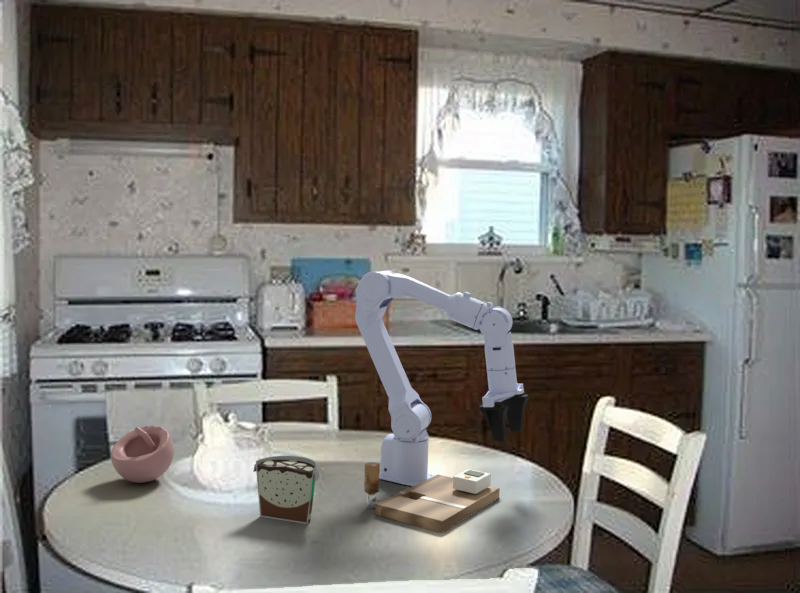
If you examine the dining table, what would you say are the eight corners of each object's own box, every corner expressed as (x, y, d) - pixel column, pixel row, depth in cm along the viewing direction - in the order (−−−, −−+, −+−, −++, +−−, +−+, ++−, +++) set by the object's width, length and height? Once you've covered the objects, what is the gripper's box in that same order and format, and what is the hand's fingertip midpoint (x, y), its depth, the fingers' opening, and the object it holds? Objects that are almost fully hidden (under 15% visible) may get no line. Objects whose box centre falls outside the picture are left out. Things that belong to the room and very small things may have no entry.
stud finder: (452, 488, 147) (453, 475, 147) (467, 480, 152) (468, 467, 152) (475, 493, 145) (476, 480, 144) (490, 485, 150) (490, 472, 149)
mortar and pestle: (97, 485, 151) (97, 428, 150) (139, 469, 162) (139, 415, 161) (146, 494, 147) (146, 435, 146) (186, 477, 158) (186, 422, 157)
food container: (330, 513, 139) (331, 459, 138) (315, 525, 133) (316, 468, 132) (269, 504, 143) (270, 451, 142) (252, 515, 137) (253, 460, 136)
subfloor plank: (375, 514, 139) (375, 503, 139) (437, 484, 157) (437, 474, 157) (442, 532, 131) (442, 520, 131) (499, 498, 150) (499, 487, 150)
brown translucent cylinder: (360, 507, 143) (361, 464, 142) (369, 503, 145) (370, 461, 145) (373, 510, 141) (374, 467, 141) (381, 506, 144) (382, 464, 143)
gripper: (503, 374, 145) (510, 445, 145) (534, 362, 157) (541, 427, 157) (470, 374, 149) (477, 444, 149) (503, 362, 161) (509, 426, 161)
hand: (507, 435), depth 153 cm, fingers open, 7 cm apart
